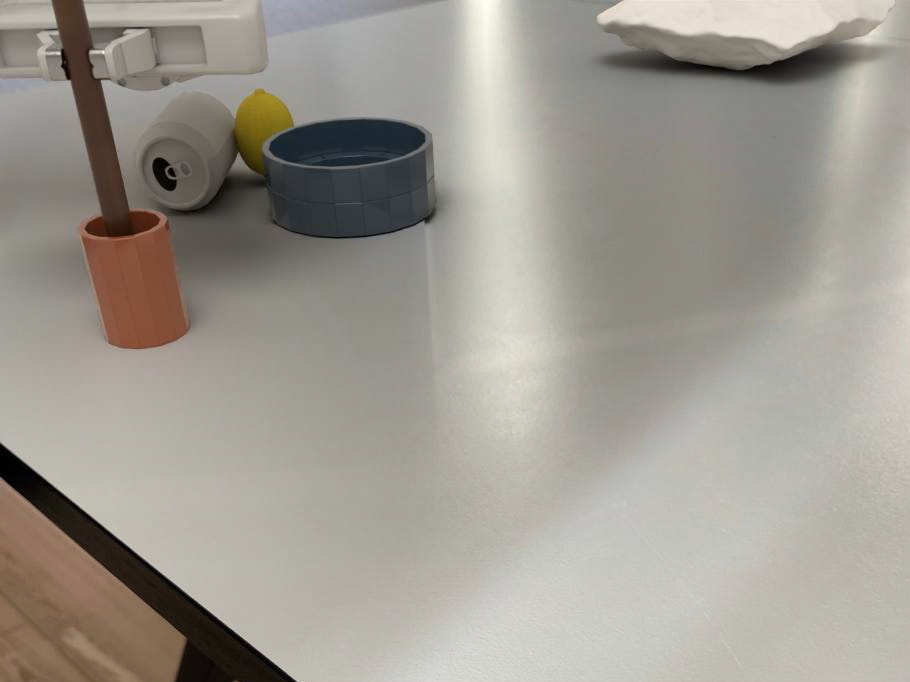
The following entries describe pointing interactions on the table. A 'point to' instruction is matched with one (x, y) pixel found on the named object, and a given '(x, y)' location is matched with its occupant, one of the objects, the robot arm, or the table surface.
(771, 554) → the table surface
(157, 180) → the can
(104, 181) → the stick
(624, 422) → the table surface
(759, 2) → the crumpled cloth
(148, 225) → the holder
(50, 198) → the table surface
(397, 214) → the bowl
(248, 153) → the lemon
